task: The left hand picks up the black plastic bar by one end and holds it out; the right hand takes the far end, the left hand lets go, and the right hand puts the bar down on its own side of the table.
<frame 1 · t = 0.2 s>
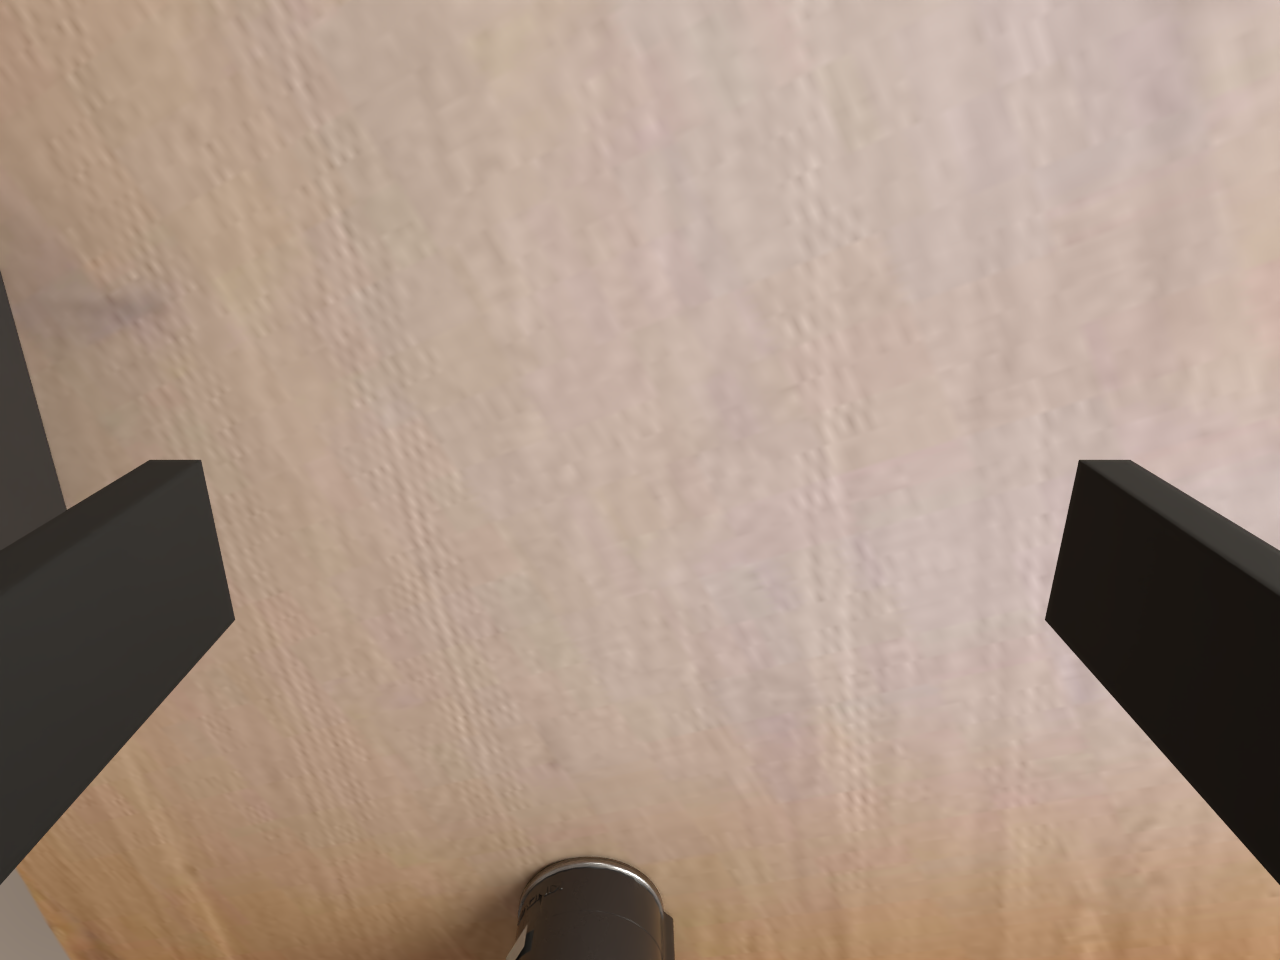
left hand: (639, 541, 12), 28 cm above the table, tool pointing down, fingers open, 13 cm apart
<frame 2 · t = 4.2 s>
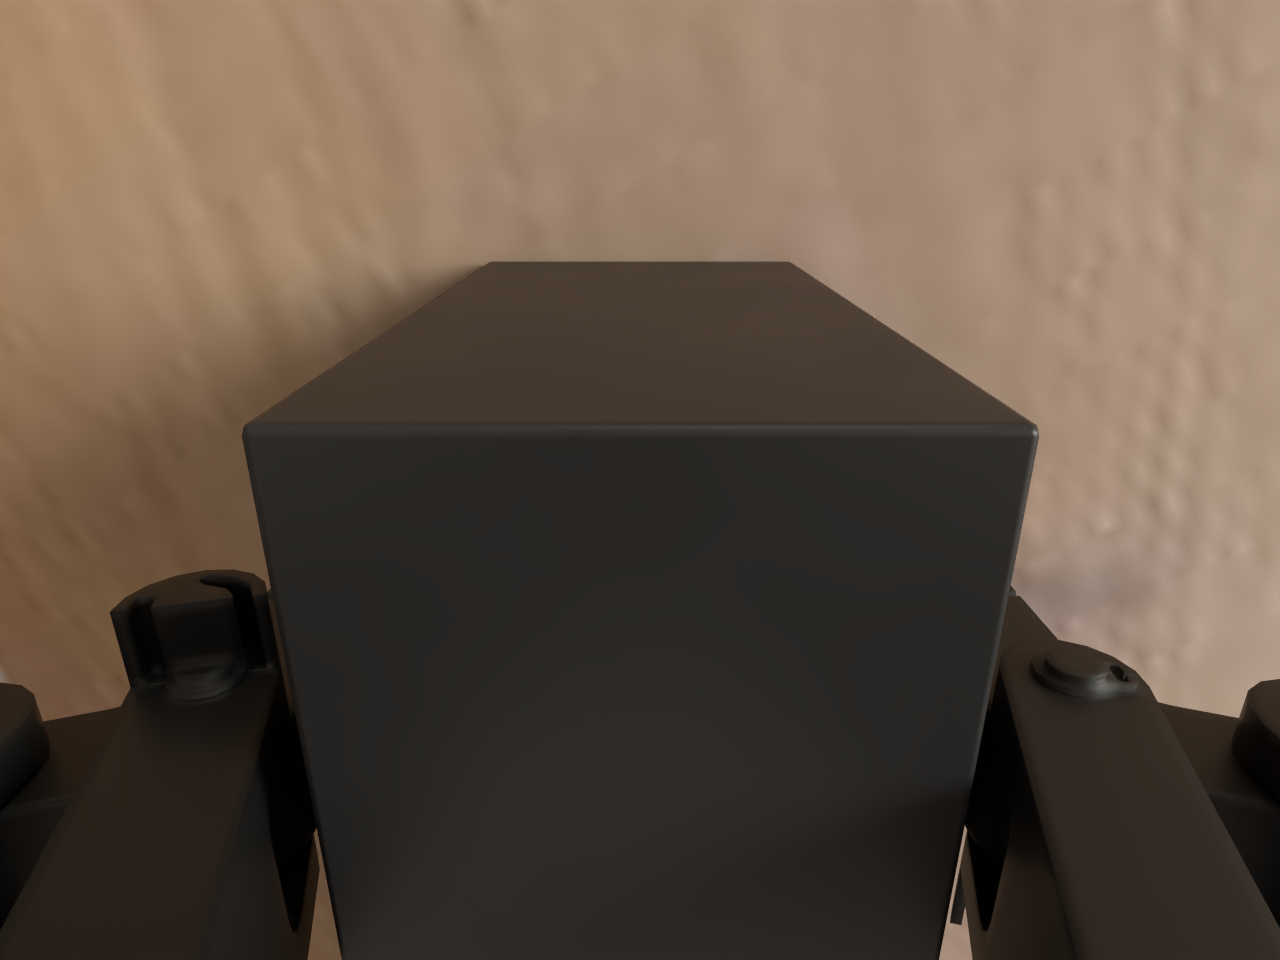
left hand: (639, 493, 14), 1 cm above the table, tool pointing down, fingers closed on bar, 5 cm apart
bar: (640, 796, 17), on the table, touching left hand
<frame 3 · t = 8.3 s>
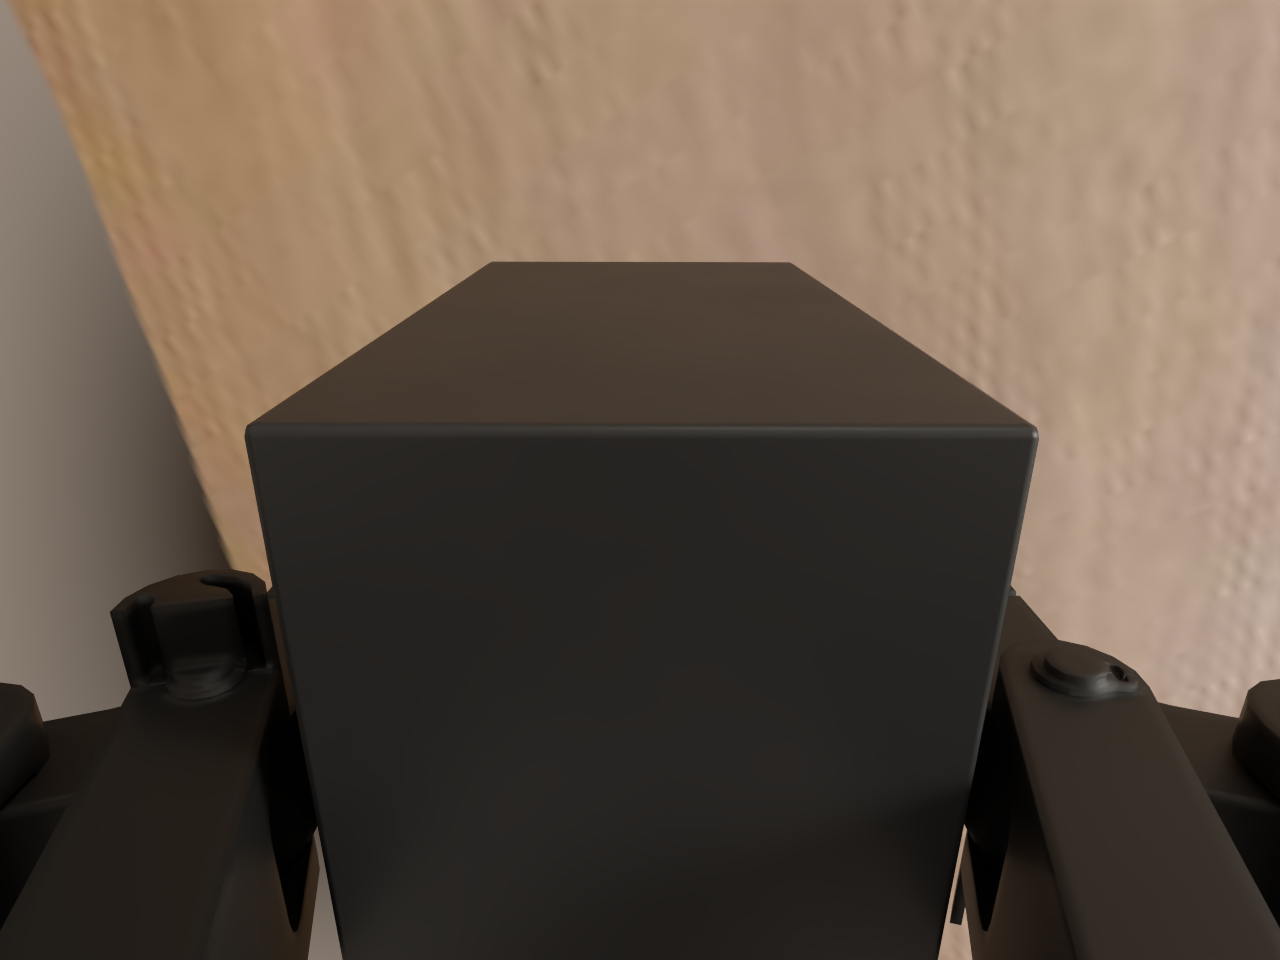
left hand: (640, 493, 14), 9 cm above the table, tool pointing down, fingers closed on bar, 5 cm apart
bar: (639, 795, 17), point 9 cm above the table, touching left hand, right hand
when the left hand's fingers open (9 cm above the table, at t = 9.2 s): bar stays where it is, held by the right hand.
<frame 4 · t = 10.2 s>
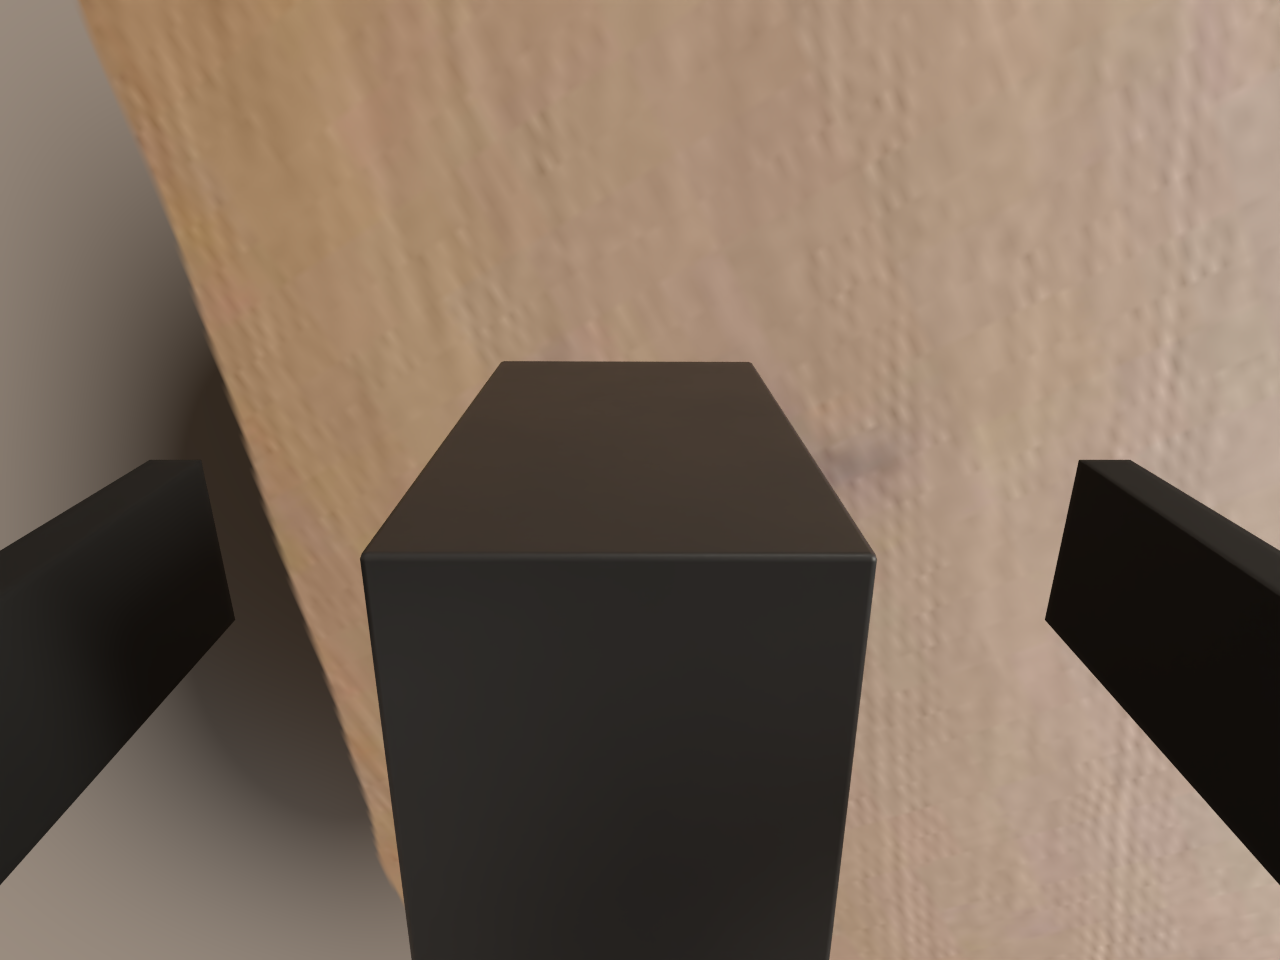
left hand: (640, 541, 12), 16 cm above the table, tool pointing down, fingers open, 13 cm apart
bar: (626, 807, 20), point 11 cm above the table, touching right hand
when the right hand's fingers open (6 cm above the table, at t = 16.0 s): bar drops 2 cm, on the table.
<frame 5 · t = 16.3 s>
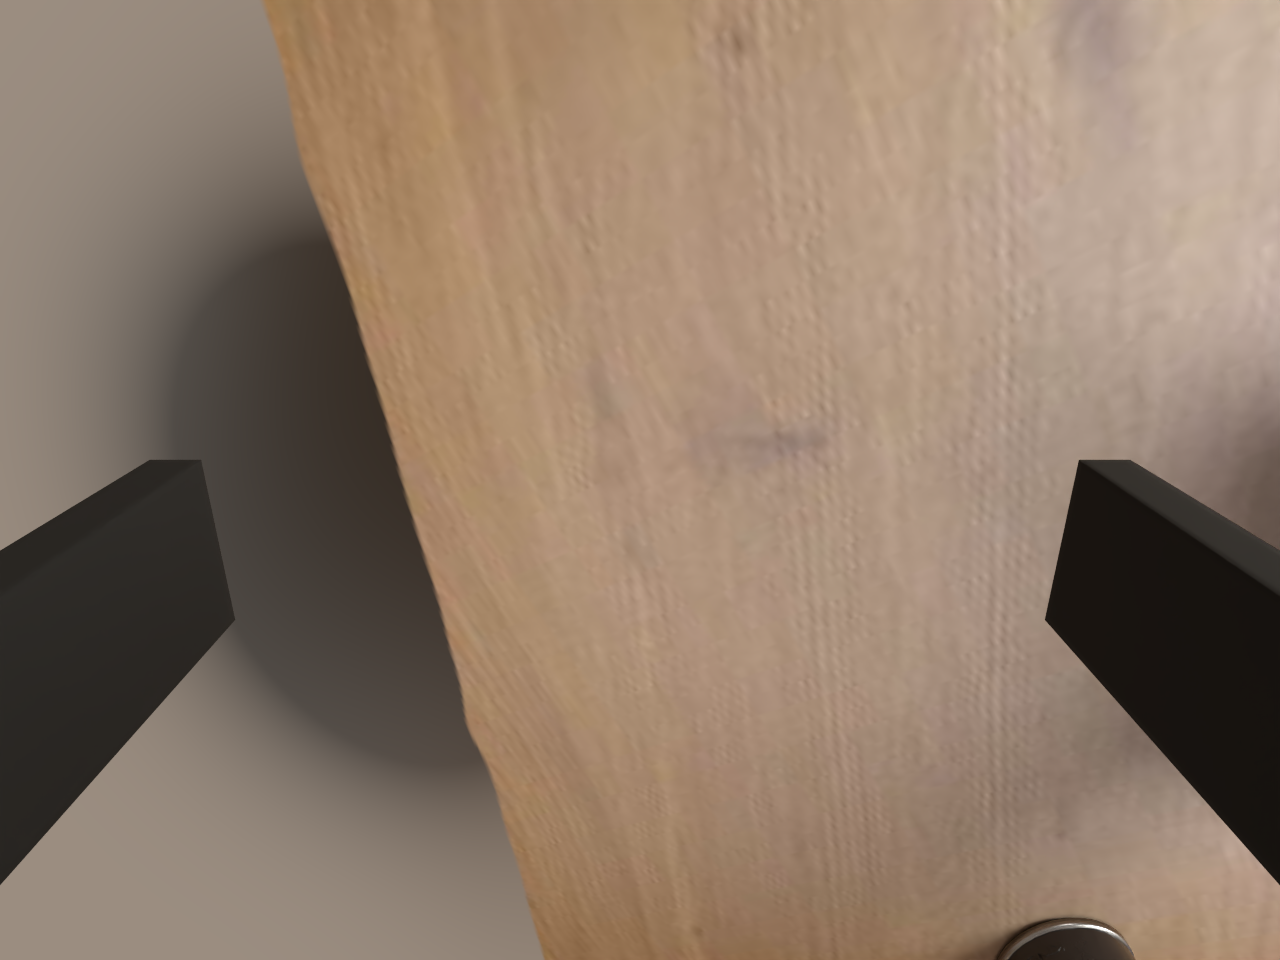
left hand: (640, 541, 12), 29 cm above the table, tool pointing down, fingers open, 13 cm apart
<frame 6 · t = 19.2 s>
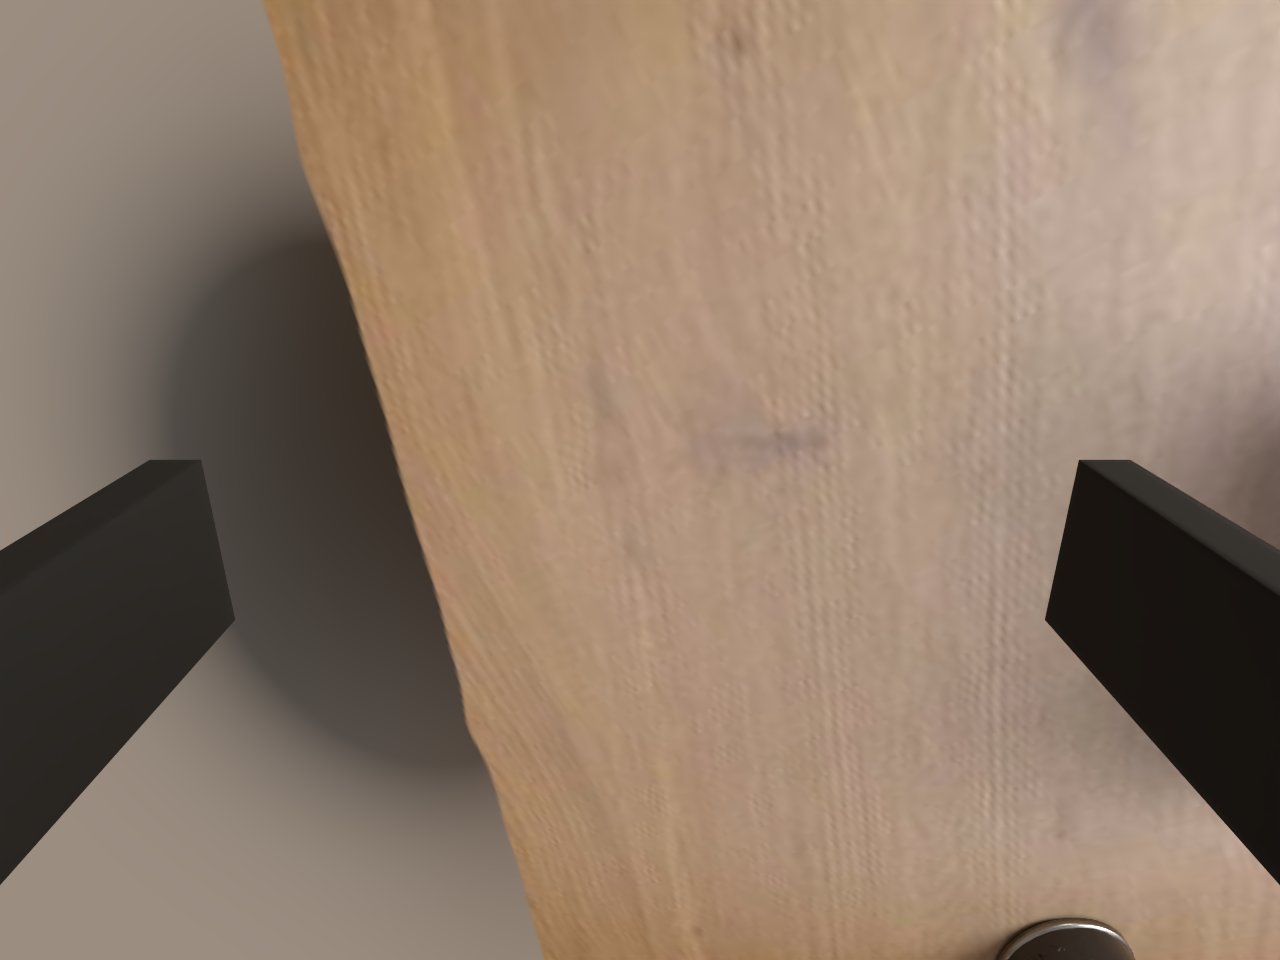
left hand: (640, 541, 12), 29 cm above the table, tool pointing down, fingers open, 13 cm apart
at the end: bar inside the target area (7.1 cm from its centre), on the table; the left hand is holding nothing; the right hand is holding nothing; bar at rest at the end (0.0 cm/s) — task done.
